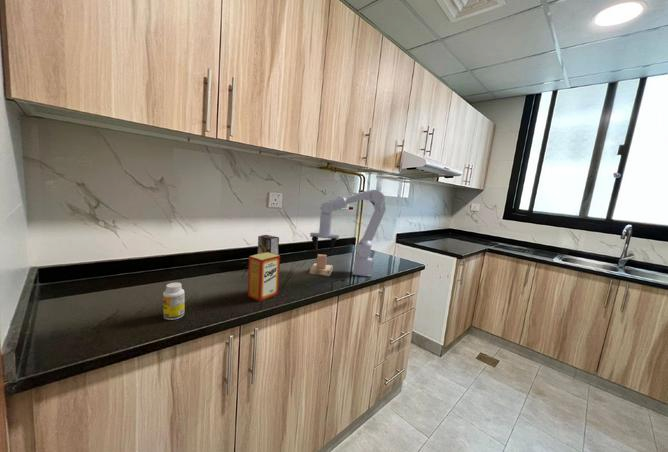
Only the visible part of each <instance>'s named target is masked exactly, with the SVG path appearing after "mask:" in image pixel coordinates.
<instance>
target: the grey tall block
mask: <svg viewBox="0 0 668 452" xmlns="http://www.w3.org/2000/svg"><path fill="white" fill-rule="evenodd" d="M279 244H280V237H278V236H276V235H275V236H274V235H270V234H261V235H258V237H257V254H262V253H267V252H269V253H273V254H277V255H279V248H280V247H279Z"/></svg>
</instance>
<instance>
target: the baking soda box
mask: <svg viewBox="0 0 668 452" xmlns="http://www.w3.org/2000/svg"><path fill="white" fill-rule="evenodd" d="M280 264H281V255H279V254H278V255H277V254H273V253H269V252H267V253H262V254H258V253H257V254H256V253H255V254H253V255H250V256H248V278H247V279H248V281H247V297H248V298H251V299H252V300H255V301H257V302H262V301H264V300H266V299H269V298H271V297H273V296H276V295H278V294H279V286H280V283H279V282H280Z"/></svg>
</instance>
